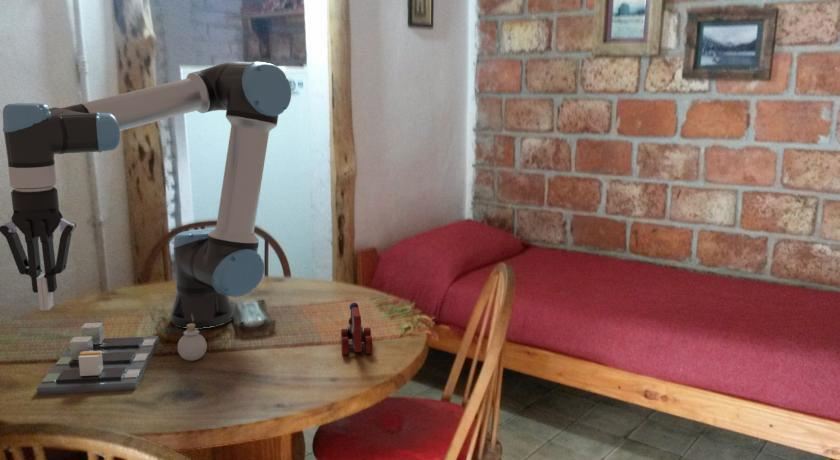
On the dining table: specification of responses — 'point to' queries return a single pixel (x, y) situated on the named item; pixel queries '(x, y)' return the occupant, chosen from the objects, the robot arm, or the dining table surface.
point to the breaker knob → (90, 363)
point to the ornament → (192, 344)
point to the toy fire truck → (356, 334)
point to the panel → (119, 363)
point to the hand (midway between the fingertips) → (46, 307)
